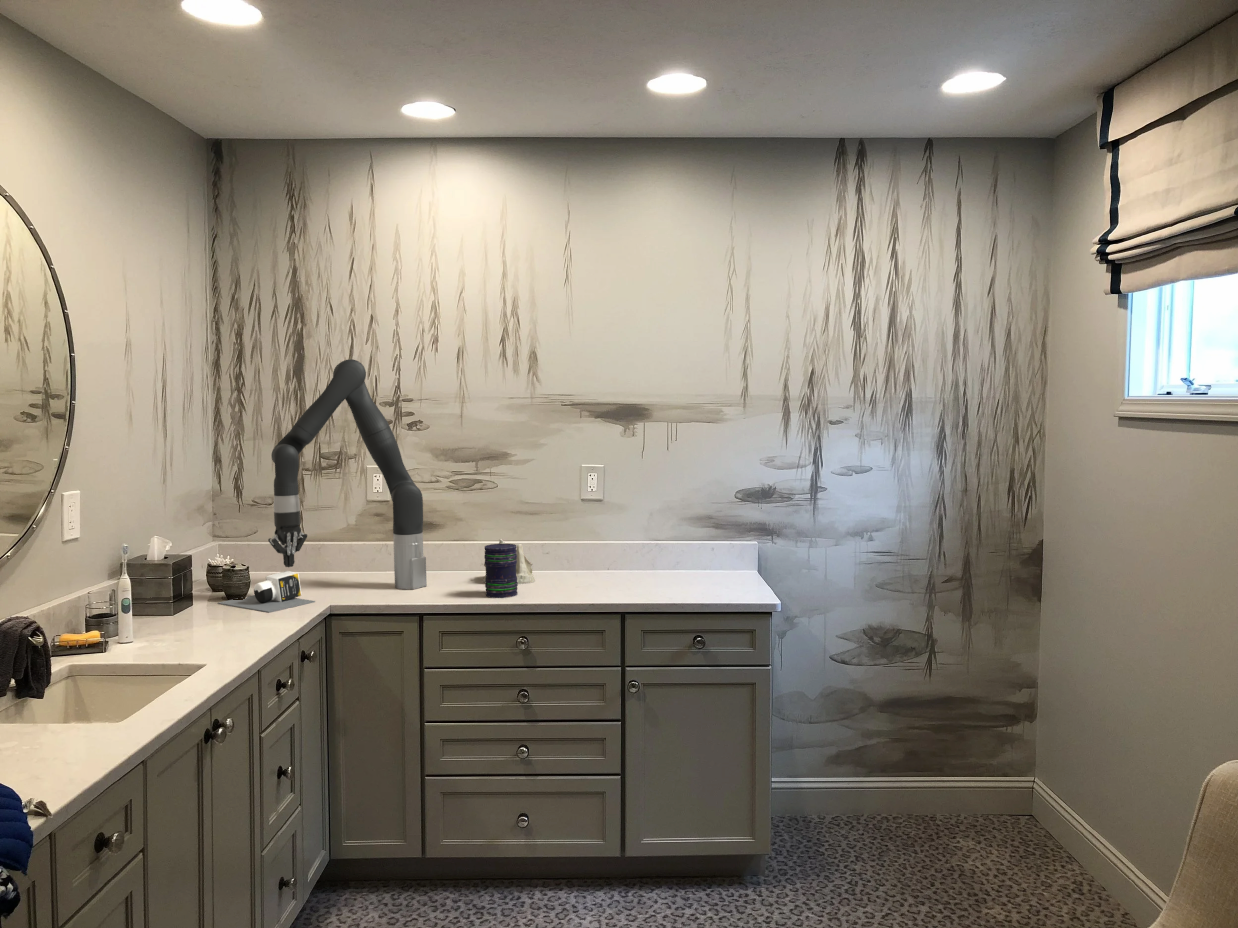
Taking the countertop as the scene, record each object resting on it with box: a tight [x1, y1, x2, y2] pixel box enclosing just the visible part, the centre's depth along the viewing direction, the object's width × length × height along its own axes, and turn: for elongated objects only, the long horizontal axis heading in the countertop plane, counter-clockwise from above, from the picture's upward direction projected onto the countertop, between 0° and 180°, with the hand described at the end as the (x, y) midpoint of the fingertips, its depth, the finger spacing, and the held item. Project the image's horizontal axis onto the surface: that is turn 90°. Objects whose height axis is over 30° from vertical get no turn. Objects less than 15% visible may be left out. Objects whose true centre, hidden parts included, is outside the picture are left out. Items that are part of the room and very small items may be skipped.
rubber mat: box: [217, 594, 316, 614], centre depth 281 cm, size 24×16×1 cm, turn 57°
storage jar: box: [484, 543, 519, 599], centre depth 287 cm, size 10×10×15 cm
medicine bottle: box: [253, 570, 303, 603], centre depth 282 cm, size 7×7×12 cm
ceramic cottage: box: [482, 538, 536, 585], centre depth 310 cm, size 16×16×15 cm
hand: (289, 566), depth 287 cm, fingers closed
